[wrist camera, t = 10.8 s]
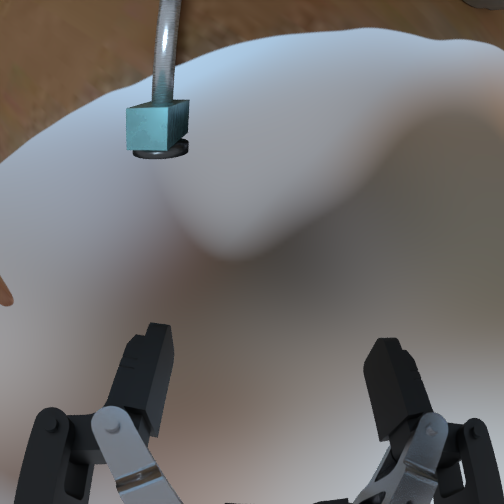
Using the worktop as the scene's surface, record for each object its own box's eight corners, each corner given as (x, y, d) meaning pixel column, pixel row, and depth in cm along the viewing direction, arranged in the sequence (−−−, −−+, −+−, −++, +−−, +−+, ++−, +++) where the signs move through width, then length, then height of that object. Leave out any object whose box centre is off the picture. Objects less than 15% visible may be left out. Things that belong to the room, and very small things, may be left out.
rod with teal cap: (210, -24, 22) (196, -52, 15) (195, 143, 34) (177, 164, 26) (159, -21, 22) (131, -44, 14) (148, 142, 33) (118, 163, 26)
